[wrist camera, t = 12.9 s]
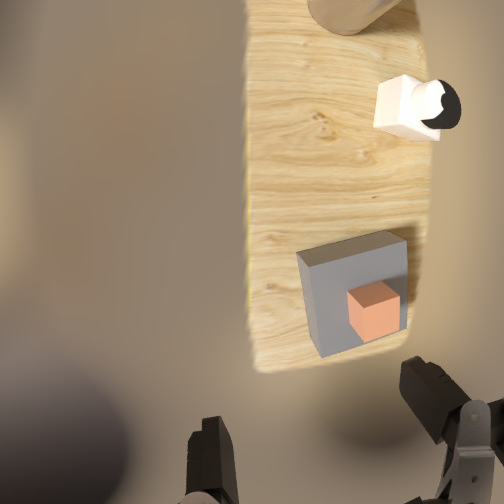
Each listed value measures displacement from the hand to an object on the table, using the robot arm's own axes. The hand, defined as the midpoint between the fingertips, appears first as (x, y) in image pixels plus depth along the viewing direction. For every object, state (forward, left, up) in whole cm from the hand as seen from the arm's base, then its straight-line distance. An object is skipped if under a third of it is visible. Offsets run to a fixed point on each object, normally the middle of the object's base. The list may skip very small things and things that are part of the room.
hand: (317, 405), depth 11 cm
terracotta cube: (+11, +13, -24) cm, 30 cm away
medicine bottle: (-13, +25, -30) cm, 41 cm away
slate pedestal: (+11, +13, -30) cm, 35 cm away
